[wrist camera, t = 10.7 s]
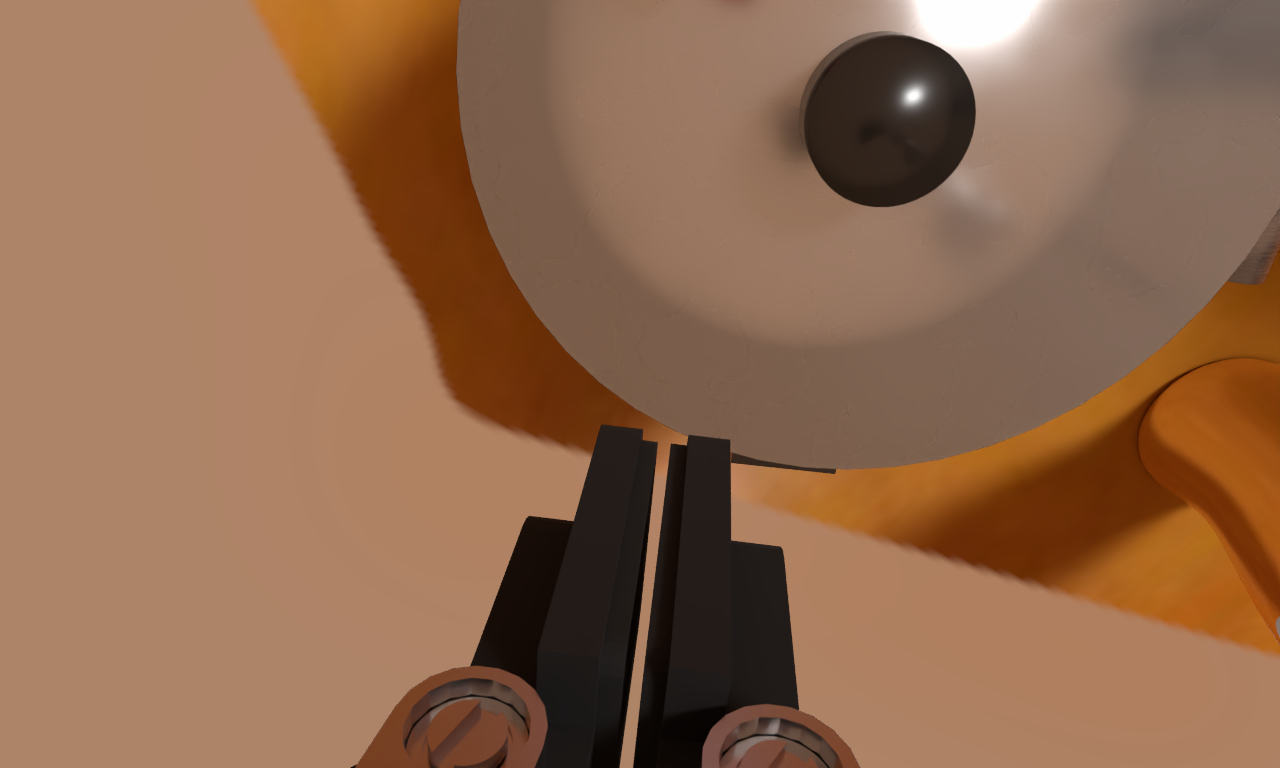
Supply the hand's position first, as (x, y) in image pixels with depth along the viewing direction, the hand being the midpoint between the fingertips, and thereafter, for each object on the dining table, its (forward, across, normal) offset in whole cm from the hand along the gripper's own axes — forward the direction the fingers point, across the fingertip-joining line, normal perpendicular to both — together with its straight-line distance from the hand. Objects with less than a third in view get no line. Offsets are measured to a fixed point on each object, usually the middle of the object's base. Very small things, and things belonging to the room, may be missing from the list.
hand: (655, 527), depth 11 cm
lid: (+11, -4, -4) cm, 12 cm away
